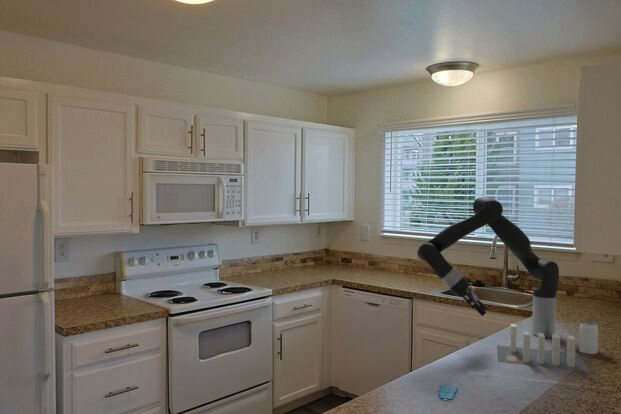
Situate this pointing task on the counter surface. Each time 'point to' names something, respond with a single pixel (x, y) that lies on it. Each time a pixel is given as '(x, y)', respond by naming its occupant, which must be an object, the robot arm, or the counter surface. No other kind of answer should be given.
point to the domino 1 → (513, 337)
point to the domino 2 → (526, 346)
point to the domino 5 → (570, 351)
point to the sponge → (447, 392)
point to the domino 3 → (541, 348)
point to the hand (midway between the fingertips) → (484, 311)
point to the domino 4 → (555, 349)
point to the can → (588, 337)
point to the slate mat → (517, 358)
